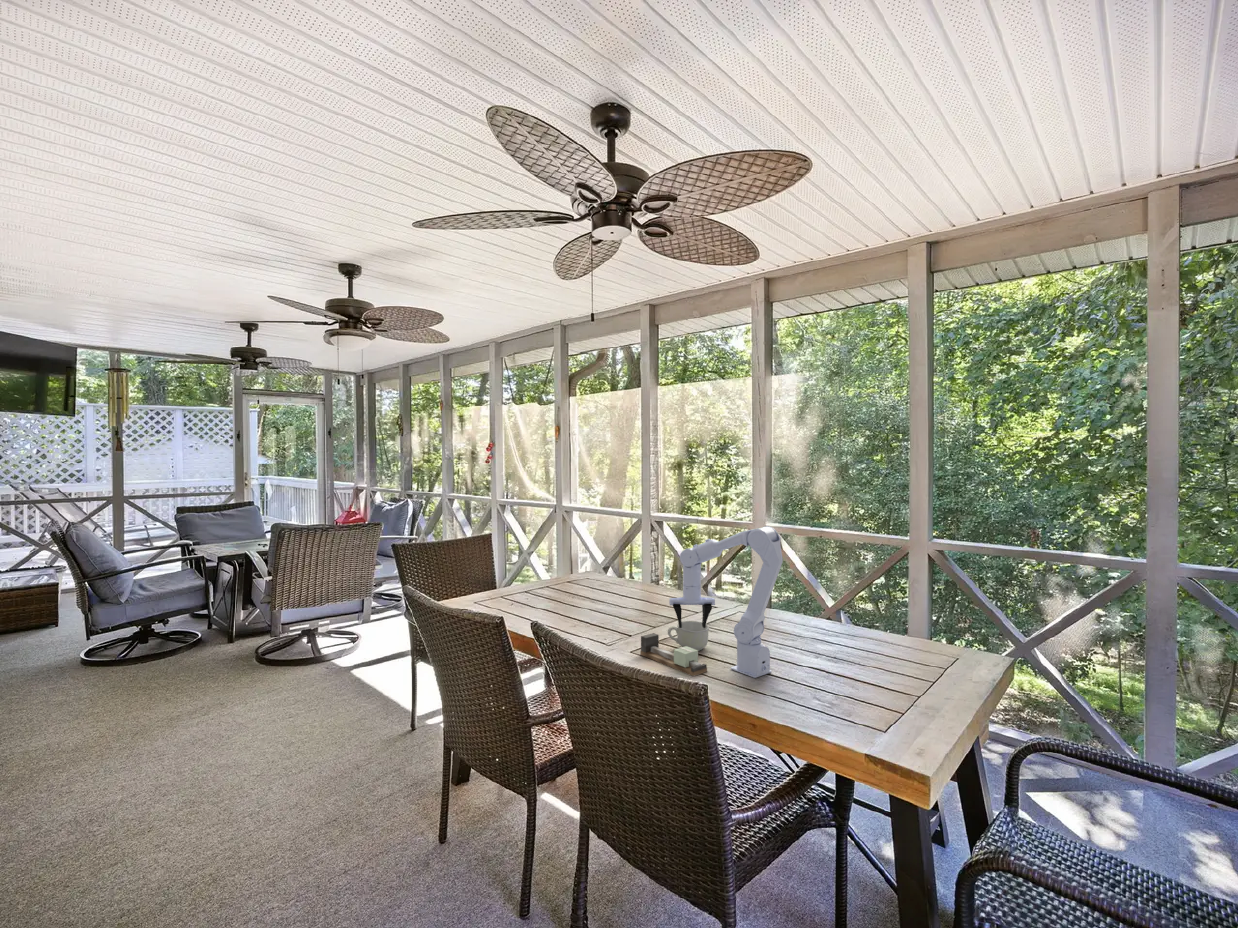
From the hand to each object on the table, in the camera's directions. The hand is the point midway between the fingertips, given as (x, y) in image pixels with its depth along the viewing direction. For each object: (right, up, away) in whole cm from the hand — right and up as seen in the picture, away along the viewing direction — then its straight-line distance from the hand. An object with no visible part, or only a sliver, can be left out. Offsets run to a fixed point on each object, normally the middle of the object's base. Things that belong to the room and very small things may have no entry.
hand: (692, 627), depth 187 cm
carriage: (-3, -8, -10) cm, 13 cm away
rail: (-7, -10, -5) cm, 13 cm away
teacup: (0, -10, +9) cm, 14 cm away
